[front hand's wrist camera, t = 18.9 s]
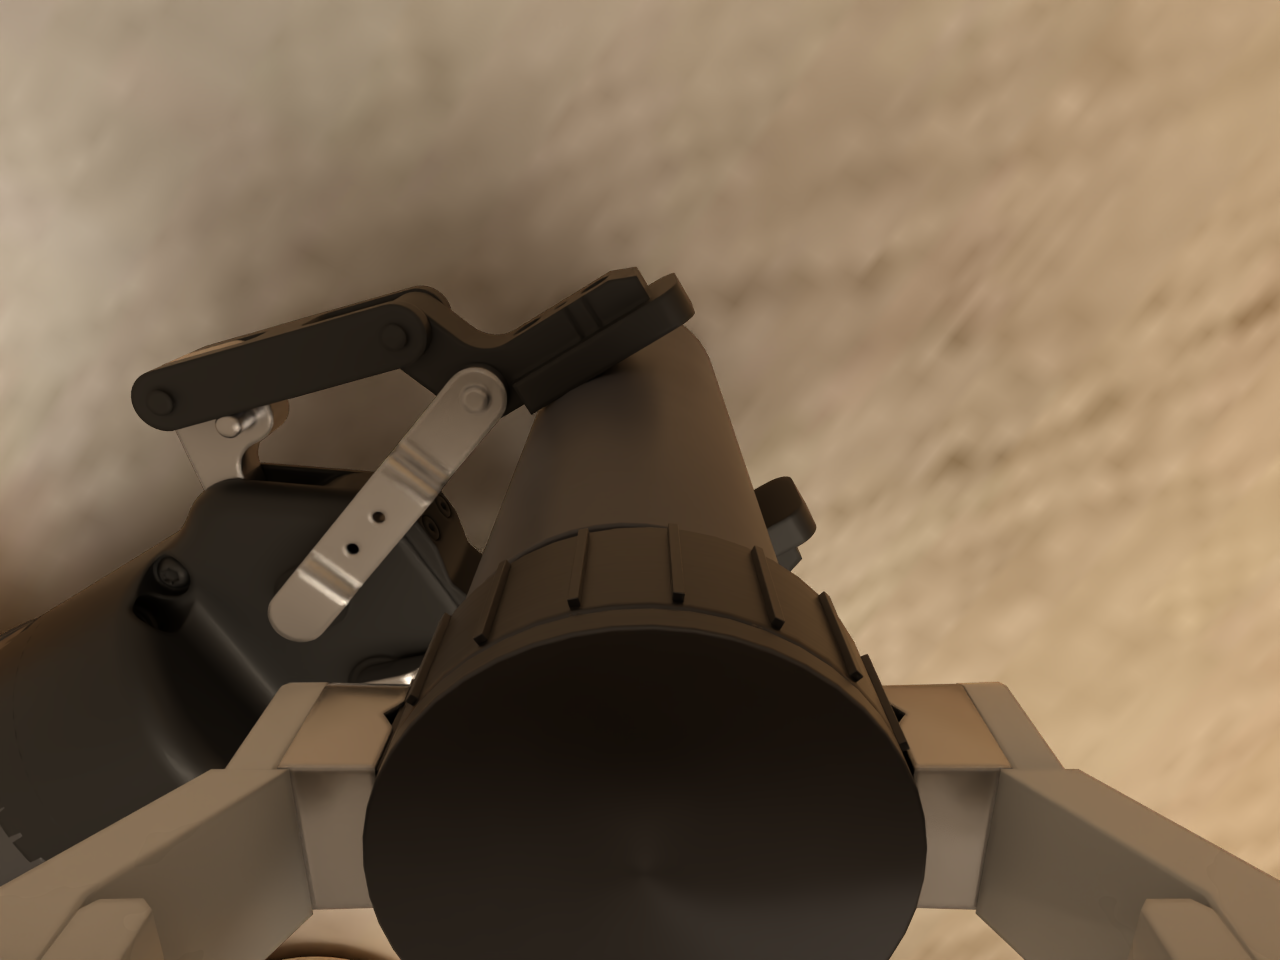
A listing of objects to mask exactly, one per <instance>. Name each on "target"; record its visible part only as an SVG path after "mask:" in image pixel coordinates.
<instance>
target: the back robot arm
mask: <svg viewBox="0 0 1280 960" xmlns="http://www.w3.org/2000/svg"><path fill="white" fill-rule="evenodd" d="M694 314H695V312H694V309H693V306H692V303H691V301H690V299H689V297H688V296H687V294H686V292H685V291H684V289H683V287H682V285H681V284H680V282H679V280H678V278H677V277H676V275H675V273H671V274H669V275H666V276H664V277H662V278H660V279H659V280H657V281H655V282H654V283H652V284H650V285H649V286H648V285H647V283H646V282H645V280H644V278H643V277H642V275H641V273H640V272H639V270H638V268H637V267H632V268H626V269H620V270H614V271H610V272H608V273H607V274H605V275H603V276H602V277H600V278H598V279H597V280H595V281H594V282H592V283H590V284H589V285H587V286H586V287H584V288H582V289H581V290H579V291H577V292H576V293H574V294H572V295H571V296H570V297H568V298H566V299H564V300H563V301H561V302H559V303H558V304H556V305H555V306H553V307H551V308H550V309H548V310H546V311H545V312H543V313H542V314H540V315H538V316H537V317H535V318H533V319H532V320H530V321H529V322H527V323H525V324H524V325H522V326H521V327H519V328H517V329H516V330H514V331H512V332H509V333H506V334H500V335H493V334H487V333H484V332H481V331H479V330H477V329H475V328H474V327H472V326H471V325H470V324H468V323H467V322H466V321H465V320H463V319H462V318H461V317H459V316H458V315H457V314H455V313H454V312H453V311H452V310H451V307H450V305H449V302H448V301H447V299H446V298H445V297H444V296H443V294H441V293H440V292H439V291H437V290H436V289H434V288H431V287H428V286H415V287H411V288H407V289H404V290H400V291H397V292H393V293H390V294H386V295H383V296H379V297H376V298H372V299H369V300H365V301H362V302H358V303H355V304H351V305H348V306H344V307H341V308H337V309H334V310H330V311H327V312H323V313H320V314H316V315H313V316H309V317H306V318H302V319H299V320H295V321H292V322H288V323H285V324H281V325H278V326H274V327H271V328H267V329H264V330H260V331H257V332H253V333H250V334H246V335H243V336H239V337H236V338H232V339H229V340H225V341H222V342H218V343H215V344H211V345H208V346H205V347H202V348H200V349H198V350H196V351H193V352H191V353H189V354H186V355H184V356H182V357H179V358H177V359H175V360H173V361H171V362H168V363H166V364H164V365H162V366H160V367H158V368H156V369H153V370H151V371H149V372H147V373H144V374H143V375H141V376H140V377H139V378H138V379H137V380H136V381H135V383H134V385H133V387H132V391H131V400H132V404H133V407H134V409H135V411H136V413H137V414H138V416H139V417H140V418H141V419H142V420H143V421H144V422H145V423H147V424H148V425H150V426H151V427H153V428H156V429H159V430H163V431H174V430H176V432H177V435H178V437H179V439H180V441H181V443H182V445H183V447H184V449H185V451H186V453H187V455H188V457H189V460H190V462H191V464H192V466H193V468H194V470H195V472H196V474H197V476H198V478H199V480H200V483H201V485H202V487H203V489H204V491H203V492H202V493H201V494H200V495H199V497H198V498H197V499H196V500H195V502H194V503H193V505H192V507H191V509H190V512H189V514H188V517H187V519H186V522H185V523H184V525H183V527H182V528H181V530H180V531H178V532H177V533H175V534H173V535H172V536H170V537H169V538H167V539H165V540H164V541H162V542H160V543H159V544H157V545H156V546H154V547H152V548H151V549H149V550H148V551H146V552H144V553H143V554H141V555H139V556H138V557H136V558H135V559H133V560H131V561H130V562H128V563H126V564H125V565H123V566H122V567H120V568H118V569H117V570H115V571H113V572H112V573H110V574H109V575H107V576H105V577H104V578H102V579H100V580H99V581H97V582H96V583H94V584H92V585H91V586H89V587H87V588H86V589H84V590H83V591H81V592H79V593H78V594H76V595H74V596H73V597H71V598H70V599H68V600H66V601H65V602H63V603H61V604H60V605H58V606H56V607H55V608H53V609H52V610H50V611H48V612H47V613H45V614H44V615H42V616H40V617H39V618H36V619H33V620H31V621H28V622H26V623H23V624H21V625H19V626H17V627H15V628H13V629H11V630H9V631H7V632H5V633H4V634H2V635H0V887H1V886H2V885H4V884H6V883H8V882H10V881H11V880H13V879H15V878H17V877H19V876H20V875H22V874H24V873H26V872H28V871H29V870H31V869H33V868H35V867H37V866H38V865H40V864H42V863H44V862H45V861H47V860H49V859H51V858H53V857H54V856H56V855H58V854H60V853H62V852H63V851H65V850H67V849H69V848H71V847H72V846H74V845H76V844H78V843H80V842H81V841H83V840H85V839H87V838H89V837H90V836H92V835H94V834H96V833H98V832H99V831H101V830H103V829H105V828H107V827H108V826H110V825H112V824H114V823H116V822H117V821H119V820H121V819H123V818H124V817H126V816H128V815H130V814H132V813H133V812H135V811H137V810H139V809H141V808H142V807H144V806H146V805H148V804H150V803H151V802H153V801H155V800H157V799H159V798H160V797H162V796H164V795H166V794H168V793H169V792H171V791H173V790H175V789H177V788H178V787H180V786H182V785H184V784H186V783H187V782H189V781H191V780H193V779H194V778H196V777H198V776H200V775H202V774H203V773H205V772H207V771H209V770H211V769H225V768H226V766H227V765H228V763H229V762H230V760H231V759H232V757H233V756H234V755H235V753H236V752H237V750H238V749H239V747H240V746H241V744H242V743H243V741H244V740H245V738H246V737H247V735H248V734H249V732H250V731H251V730H252V728H253V727H254V725H255V724H256V722H257V721H258V719H259V718H260V716H261V715H262V713H263V712H264V710H265V709H266V707H267V706H268V705H269V703H270V702H271V700H272V699H273V697H274V696H275V694H276V693H277V691H278V690H279V688H280V687H281V686H283V685H285V684H288V683H303V682H327V683H330V684H331V683H373V684H410V682H411V680H412V679H415V677H416V674H417V672H418V670H419V667H420V665H421V663H422V660H423V658H424V656H425V653H426V651H427V649H428V647H429V644H430V642H431V640H432V637H433V635H434V633H435V630H436V628H437V626H438V623H439V621H440V619H441V617H442V616H443V614H444V613H447V614H449V615H452V614H453V613H454V611H455V610H456V609H457V608H458V607H459V606H460V605H461V604H462V602H463V601H464V600H465V599H466V597H467V594H468V592H469V589H470V586H471V584H472V581H473V579H474V576H475V573H476V571H477V568H478V566H479V563H480V560H481V558H482V554H481V553H480V552H478V551H477V550H476V549H475V548H474V547H472V546H471V545H470V544H469V543H468V541H467V539H466V536H465V533H464V531H463V528H462V526H461V523H460V520H459V518H458V515H457V513H456V511H455V509H454V508H453V507H452V505H451V504H450V503H449V501H448V500H447V498H446V497H445V496H444V494H443V493H442V492H441V490H442V488H443V487H444V486H445V484H446V483H447V481H448V480H449V479H450V478H451V476H452V475H453V474H454V473H455V472H456V470H457V469H458V468H459V467H460V466H461V464H462V463H463V462H464V461H465V460H466V458H467V457H468V456H469V455H470V454H471V453H472V451H473V450H474V449H475V448H476V447H477V445H478V444H479V443H480V442H481V441H482V440H483V438H484V437H485V436H486V435H487V434H488V432H489V431H490V430H491V429H492V428H493V426H494V425H495V424H496V423H497V422H498V421H499V419H500V418H502V417H504V416H505V415H507V414H509V413H510V412H512V411H514V410H515V409H517V408H519V407H520V406H522V405H524V404H525V406H526V407H527V409H528V410H529V412H530V413H531V415H532V414H533V413H535V412H537V411H538V410H540V409H542V408H543V407H545V406H547V405H548V404H550V403H552V402H554V401H555V400H557V399H559V398H560V397H562V396H563V395H565V394H566V393H568V392H569V391H571V390H573V389H575V388H576V387H578V386H580V385H582V384H584V383H586V382H587V381H589V380H591V379H592V378H594V377H596V376H597V375H599V374H601V373H602V372H604V371H606V370H608V369H609V368H611V367H613V366H614V365H616V364H618V363H619V362H621V361H623V360H624V359H626V358H628V357H629V356H631V355H633V354H634V353H636V352H638V351H640V350H641V349H643V348H645V347H646V346H648V345H650V344H651V343H653V342H655V341H656V340H658V339H660V338H661V337H663V336H665V335H667V334H668V333H670V332H672V331H673V330H675V329H677V328H678V327H680V326H681V325H683V324H684V323H685V322H687V321H688V320H689V319H690V318H691V317H692V316H693V315H694ZM399 368H400V369H401V370H403V371H404V372H405V373H407V374H408V375H409V376H411V377H412V378H413V379H415V380H416V381H417V382H419V383H420V384H422V385H423V386H424V387H426V388H427V389H428V390H430V391H431V392H432V393H434V394H435V395H436V397H435V399H434V400H433V401H432V402H431V404H430V405H429V406H428V407H427V409H426V410H425V411H424V412H423V413H422V415H421V416H420V417H419V418H418V420H417V421H416V422H415V423H414V425H413V426H412V427H411V428H410V430H409V431H408V432H407V433H406V434H405V436H404V437H403V438H402V439H401V441H400V442H399V443H398V444H397V446H396V447H395V448H394V449H393V450H392V452H391V453H390V454H389V455H388V457H387V458H386V459H385V460H384V462H383V463H382V464H381V465H380V467H379V468H378V469H377V470H376V471H375V472H372V471H359V470H347V469H335V468H323V467H311V466H299V465H286V464H274V463H260V460H259V456H258V448H259V444H260V441H261V440H263V439H264V438H266V437H267V436H268V435H270V434H271V433H272V432H273V431H275V430H276V429H277V428H279V427H280V426H281V425H282V424H283V423H284V422H285V421H286V419H287V417H288V414H289V401H288V399H291V398H294V397H298V396H301V395H305V394H309V393H312V392H316V391H320V390H323V389H327V388H330V387H334V386H338V385H341V384H345V383H348V382H352V381H356V380H359V379H363V378H367V377H370V376H374V375H377V374H381V373H385V372H388V371H392V370H395V369H399ZM754 492H755V495H756V498H757V501H758V504H759V507H760V510H761V513H762V516H763V519H764V522H765V525H766V528H767V531H768V534H769V537H770V540H771V543H772V546H773V549H774V552H775V555H776V558H777V561H778V564H779V565H781V566H782V567H784V568H785V569H787V570H788V571H791V570H792V569H793V568H794V567H795V566H796V565H797V564H798V563H799V562H800V560H801V559H802V557H801V555H800V552H799V550H798V546H800V545H801V544H803V543H804V542H806V541H807V540H808V539H809V538H810V537H811V536H812V535H813V534H814V532H815V531H816V524H815V522H814V520H813V518H812V516H811V514H810V512H809V509H808V507H807V505H806V503H805V501H804V500H803V498H802V496H801V494H800V493H799V491H798V489H797V487H796V486H795V484H794V482H793V481H792V479H791V478H790V477H780V478H776V479H774V480H771V481H769V482H768V483H766V484H764V485H762V486H760V487H758V488H757V489H755V490H754Z"/></svg>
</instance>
